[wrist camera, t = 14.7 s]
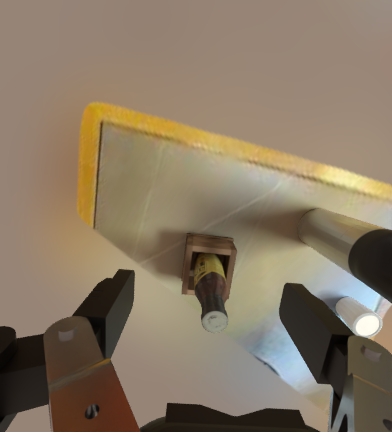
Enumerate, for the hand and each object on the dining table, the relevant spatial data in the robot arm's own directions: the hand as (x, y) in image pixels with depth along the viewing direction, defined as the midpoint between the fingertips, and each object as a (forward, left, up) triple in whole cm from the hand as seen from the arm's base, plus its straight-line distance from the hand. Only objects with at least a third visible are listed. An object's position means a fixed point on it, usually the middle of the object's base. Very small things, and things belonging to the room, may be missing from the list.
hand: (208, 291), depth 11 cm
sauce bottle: (-4, +15, -37) cm, 40 cm away
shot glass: (-42, +24, -38) cm, 61 cm away
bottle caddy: (-4, +15, -38) cm, 41 cm away
